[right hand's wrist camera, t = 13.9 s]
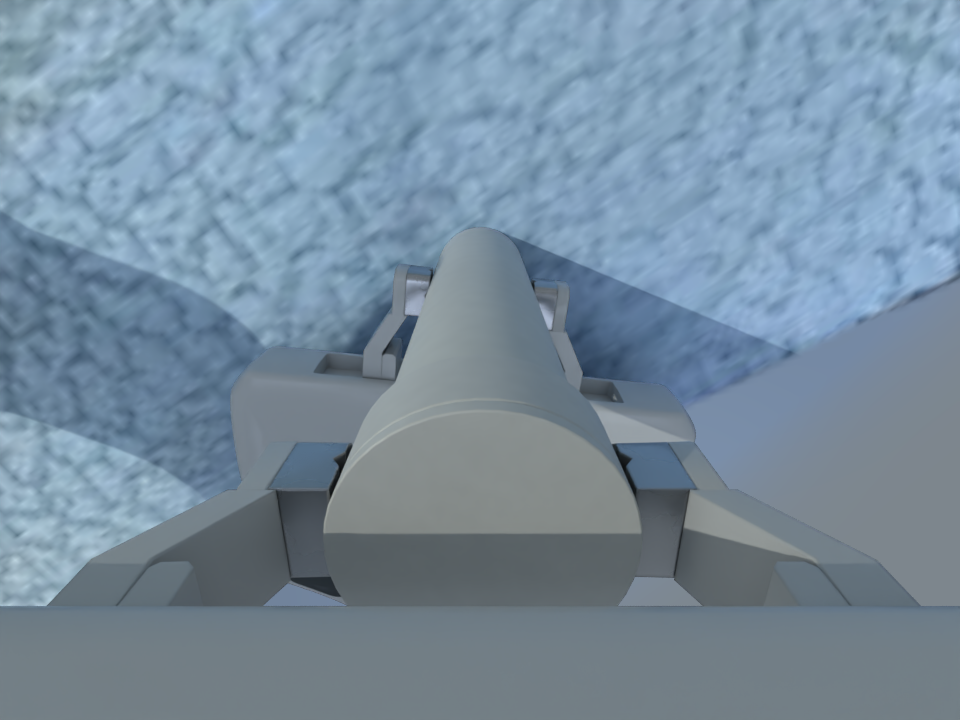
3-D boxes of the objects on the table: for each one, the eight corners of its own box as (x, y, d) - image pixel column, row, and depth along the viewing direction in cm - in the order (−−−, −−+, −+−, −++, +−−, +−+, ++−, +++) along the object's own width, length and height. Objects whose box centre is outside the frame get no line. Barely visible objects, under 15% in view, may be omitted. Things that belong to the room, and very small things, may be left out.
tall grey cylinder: (511, 318, 28) (571, 648, 10) (430, 301, 28) (334, 609, 9) (532, 238, 27) (652, 447, 8) (447, 218, 26) (371, 390, 8)
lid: (569, 590, 11) (588, 686, 9) (338, 549, 11) (305, 641, 9) (647, 384, 10) (690, 448, 8) (374, 326, 9) (345, 377, 7)
